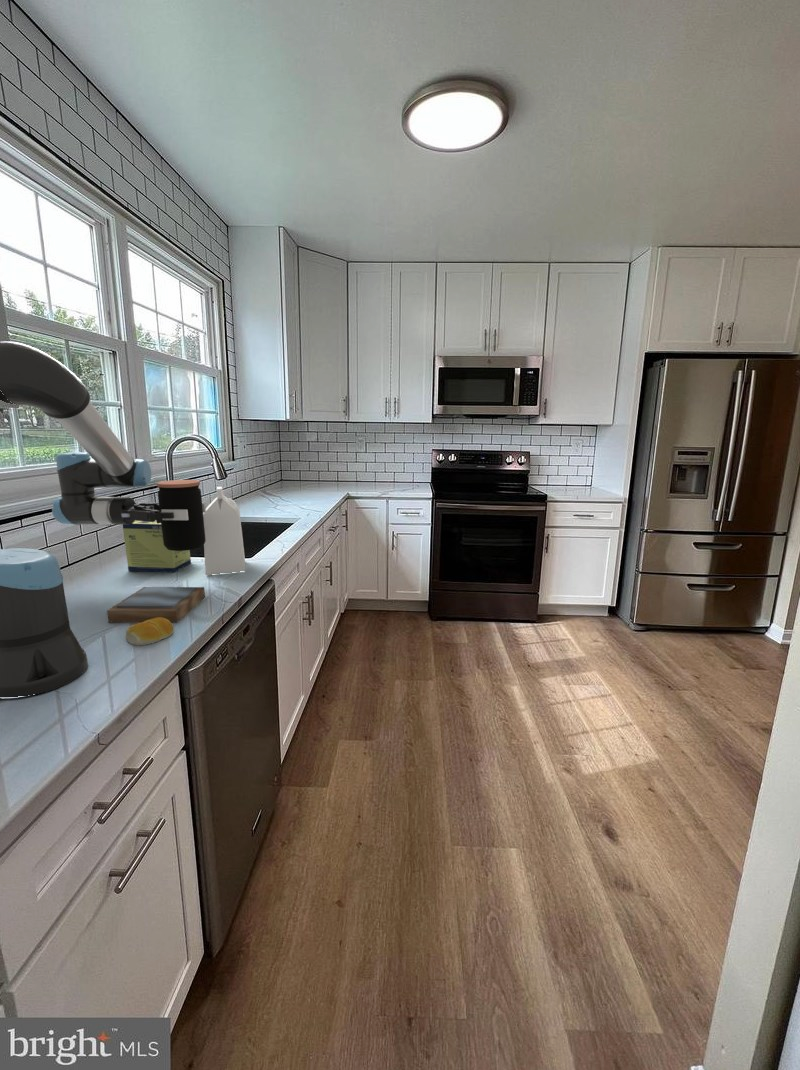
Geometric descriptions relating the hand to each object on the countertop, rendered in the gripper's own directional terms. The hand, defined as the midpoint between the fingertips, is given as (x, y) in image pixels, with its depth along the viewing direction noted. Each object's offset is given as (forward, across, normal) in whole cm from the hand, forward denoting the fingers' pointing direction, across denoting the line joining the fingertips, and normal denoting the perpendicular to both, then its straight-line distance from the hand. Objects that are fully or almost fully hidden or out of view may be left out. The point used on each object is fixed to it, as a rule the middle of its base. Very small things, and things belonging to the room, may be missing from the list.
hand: (196, 511), depth 127 cm
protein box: (-22, -19, -22) cm, 36 cm away
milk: (0, -17, -22) cm, 28 cm away
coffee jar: (-4, 0, -10) cm, 11 cm away
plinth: (-4, +17, -22) cm, 28 cm away
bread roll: (+2, +32, -22) cm, 39 cm away
